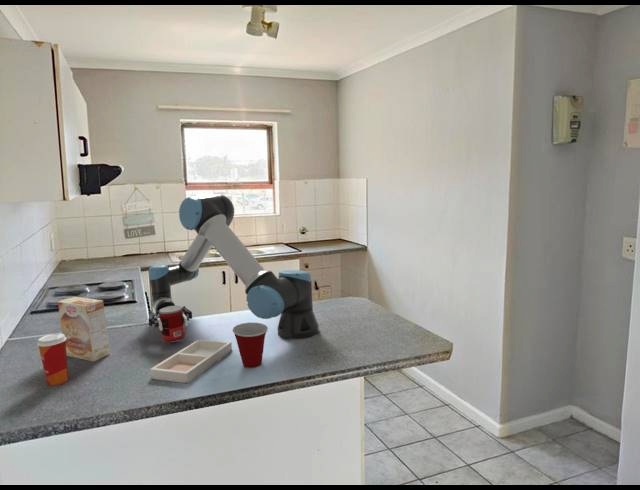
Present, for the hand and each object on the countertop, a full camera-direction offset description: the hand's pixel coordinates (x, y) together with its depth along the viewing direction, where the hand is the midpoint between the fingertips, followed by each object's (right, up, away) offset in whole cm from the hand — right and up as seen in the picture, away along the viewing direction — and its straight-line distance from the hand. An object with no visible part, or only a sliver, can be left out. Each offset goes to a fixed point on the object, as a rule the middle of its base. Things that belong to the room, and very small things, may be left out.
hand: (173, 324), depth 162 cm
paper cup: (-28, -14, -21) cm, 38 cm away
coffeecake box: (-29, -11, -1) cm, 31 cm away
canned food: (-2, -6, +5) cm, 8 cm away
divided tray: (+11, -10, -14) cm, 20 cm away
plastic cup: (+30, -10, -16) cm, 35 cm away
